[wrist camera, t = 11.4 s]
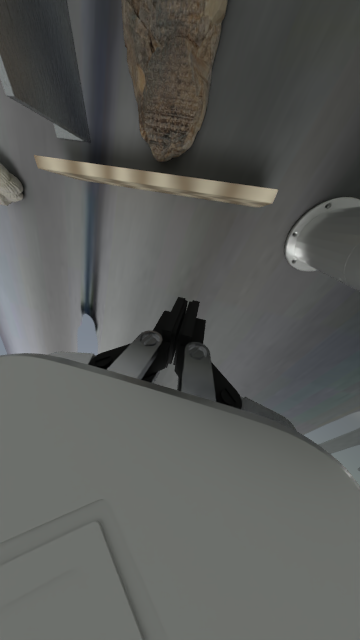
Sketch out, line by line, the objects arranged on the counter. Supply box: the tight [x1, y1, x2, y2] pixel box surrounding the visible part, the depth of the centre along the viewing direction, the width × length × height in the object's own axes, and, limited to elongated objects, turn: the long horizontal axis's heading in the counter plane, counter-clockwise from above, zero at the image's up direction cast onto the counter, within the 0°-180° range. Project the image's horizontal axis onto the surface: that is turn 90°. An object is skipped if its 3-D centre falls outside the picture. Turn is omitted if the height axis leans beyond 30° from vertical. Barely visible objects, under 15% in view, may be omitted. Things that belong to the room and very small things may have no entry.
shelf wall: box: [34, 155, 278, 207], centre depth 25 cm, size 40×2×9 cm, turn 83°
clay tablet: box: [122, 0, 228, 162], centre depth 19 cm, size 14×5×20 cm
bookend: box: [0, 0, 90, 142], centre depth 18 cm, size 7×16×13 cm, turn 173°
